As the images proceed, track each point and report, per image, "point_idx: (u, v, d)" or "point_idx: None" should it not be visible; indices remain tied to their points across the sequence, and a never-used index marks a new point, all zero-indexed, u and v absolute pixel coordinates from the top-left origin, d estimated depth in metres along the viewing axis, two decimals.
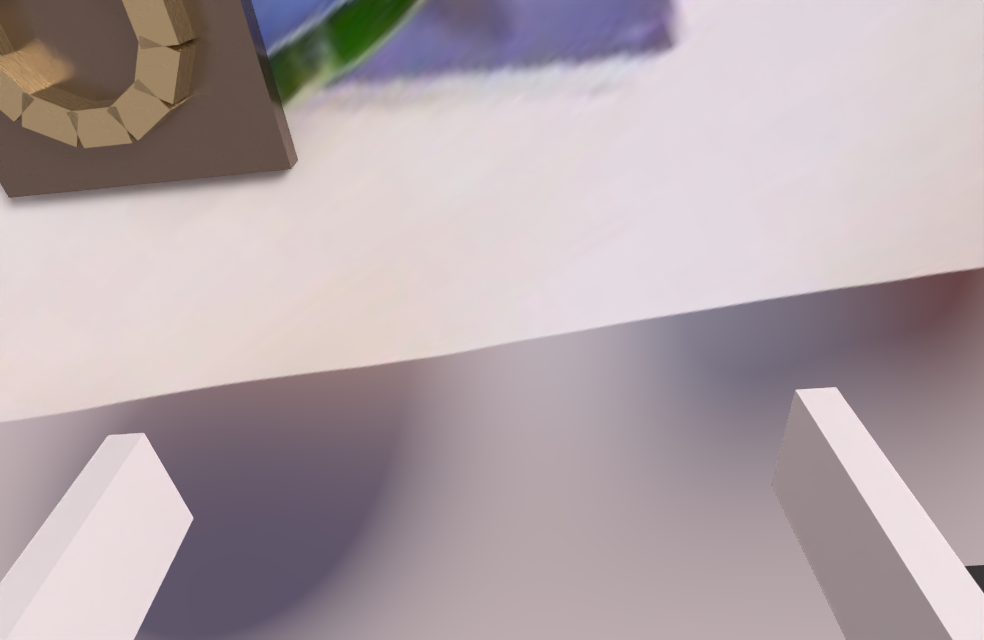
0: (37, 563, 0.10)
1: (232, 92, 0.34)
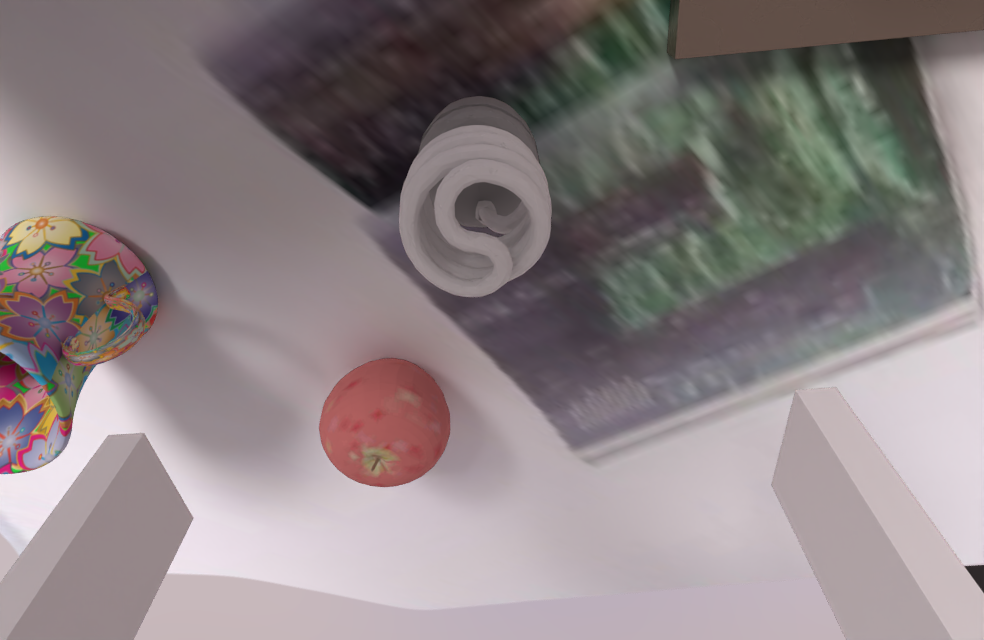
0: (37, 563, 0.10)
1: None
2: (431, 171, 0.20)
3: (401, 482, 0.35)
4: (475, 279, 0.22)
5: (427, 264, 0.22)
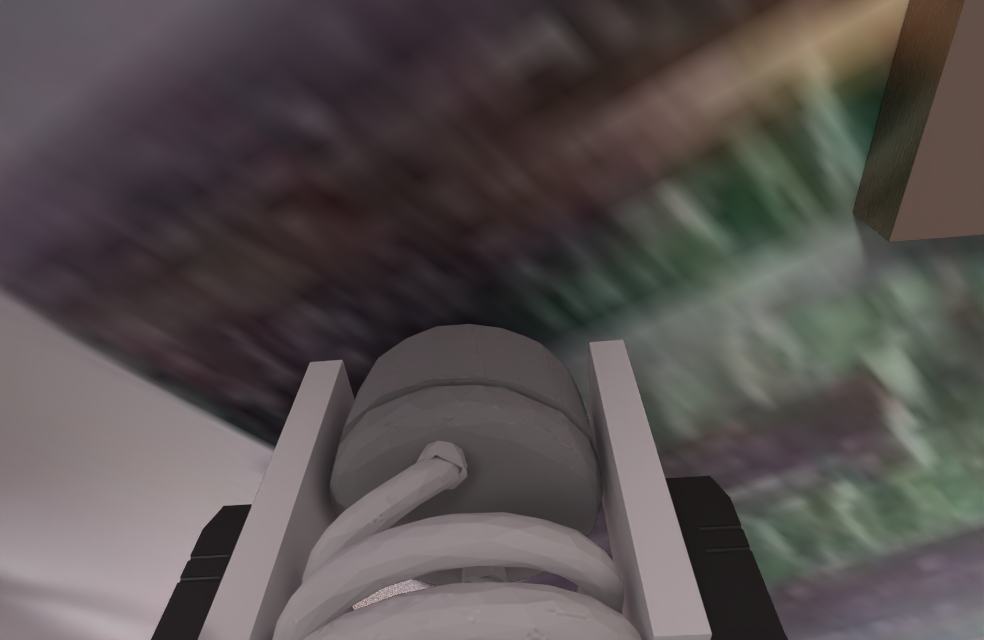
0: (292, 457, 0.11)
1: None
2: None
3: None
4: None
5: None
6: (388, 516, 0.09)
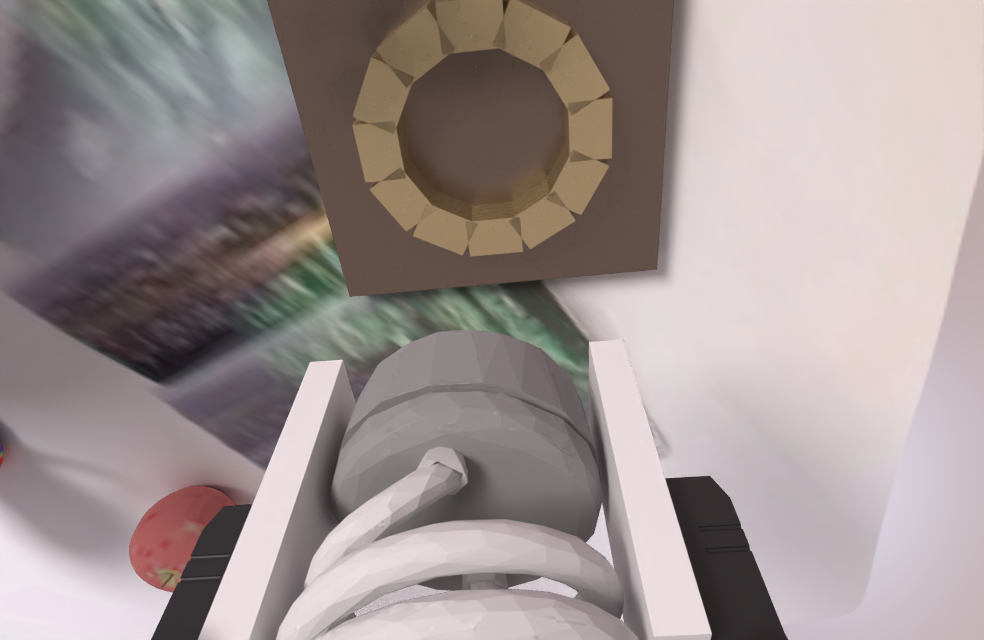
0: (292, 457, 0.11)
1: None
2: None
3: None
4: None
5: None
6: (389, 522, 0.09)
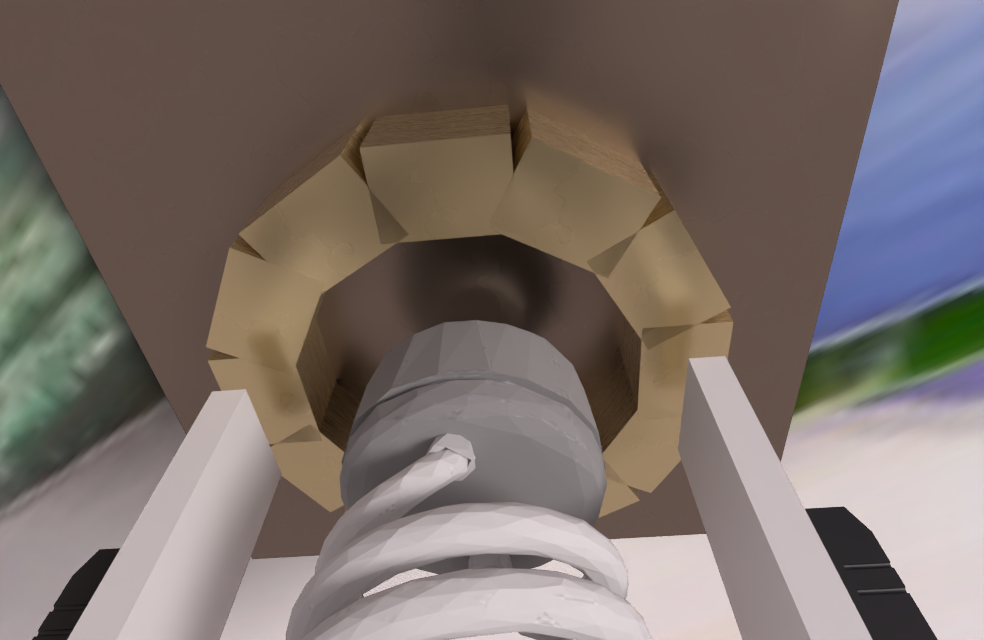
0: (170, 499, 0.11)
1: None
2: None
3: None
4: None
5: None
6: (400, 506, 0.09)
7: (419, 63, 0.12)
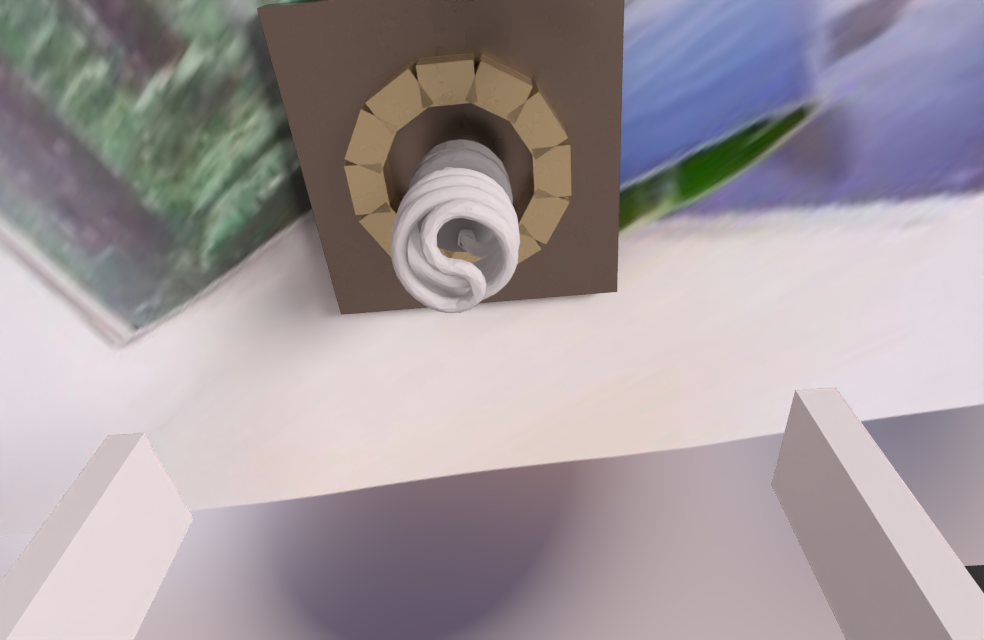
0: (37, 563, 0.10)
1: (585, 227, 0.36)
2: (417, 208, 0.24)
3: None
4: (455, 298, 0.26)
5: (414, 285, 0.26)
6: None
7: (437, 35, 0.30)
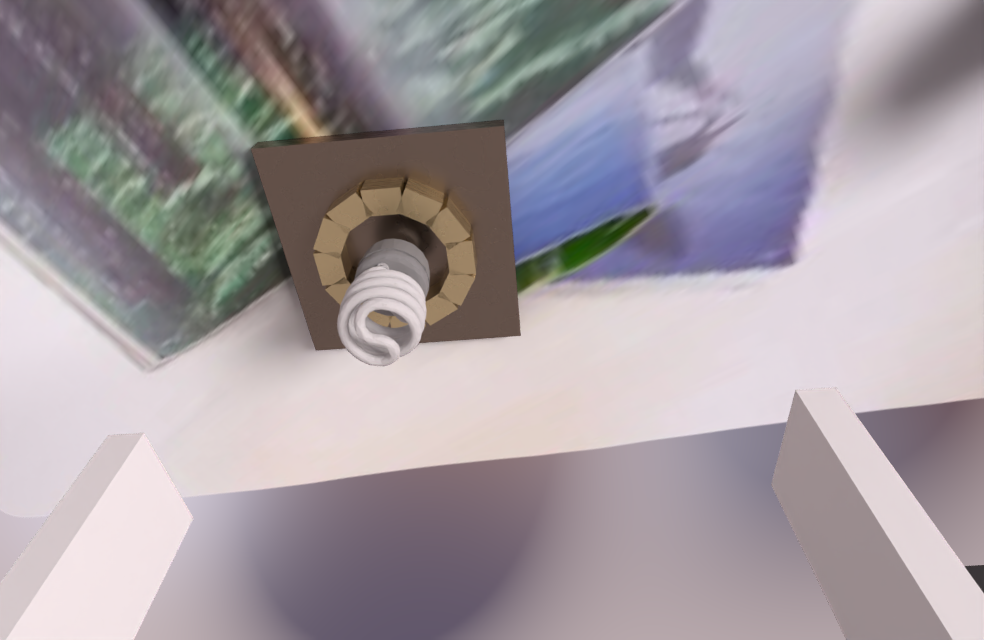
0: (37, 563, 0.10)
1: (492, 291, 0.49)
2: (353, 301, 0.37)
3: None
4: (381, 356, 0.39)
5: (353, 349, 0.39)
6: None
7: (377, 166, 0.43)
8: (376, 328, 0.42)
